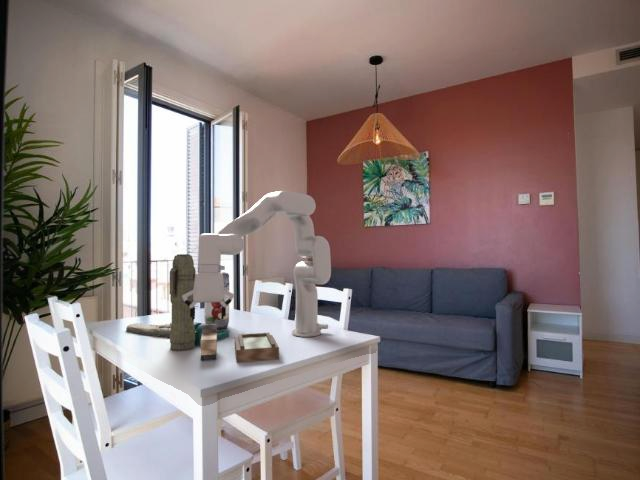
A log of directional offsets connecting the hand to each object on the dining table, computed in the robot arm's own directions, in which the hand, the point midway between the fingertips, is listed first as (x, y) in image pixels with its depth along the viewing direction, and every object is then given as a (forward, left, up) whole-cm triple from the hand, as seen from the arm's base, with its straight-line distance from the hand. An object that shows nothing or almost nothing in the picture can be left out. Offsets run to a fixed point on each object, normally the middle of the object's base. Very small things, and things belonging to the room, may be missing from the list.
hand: (208, 318), depth 129 cm
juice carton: (-2, -45, -13) cm, 47 cm away
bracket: (0, -24, -14) cm, 28 cm away
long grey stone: (+22, -41, -14) cm, 48 cm away
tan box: (0, 0, -13) cm, 13 cm away
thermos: (+10, -14, -13) cm, 22 cm away
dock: (-16, 0, -13) cm, 21 cm away
